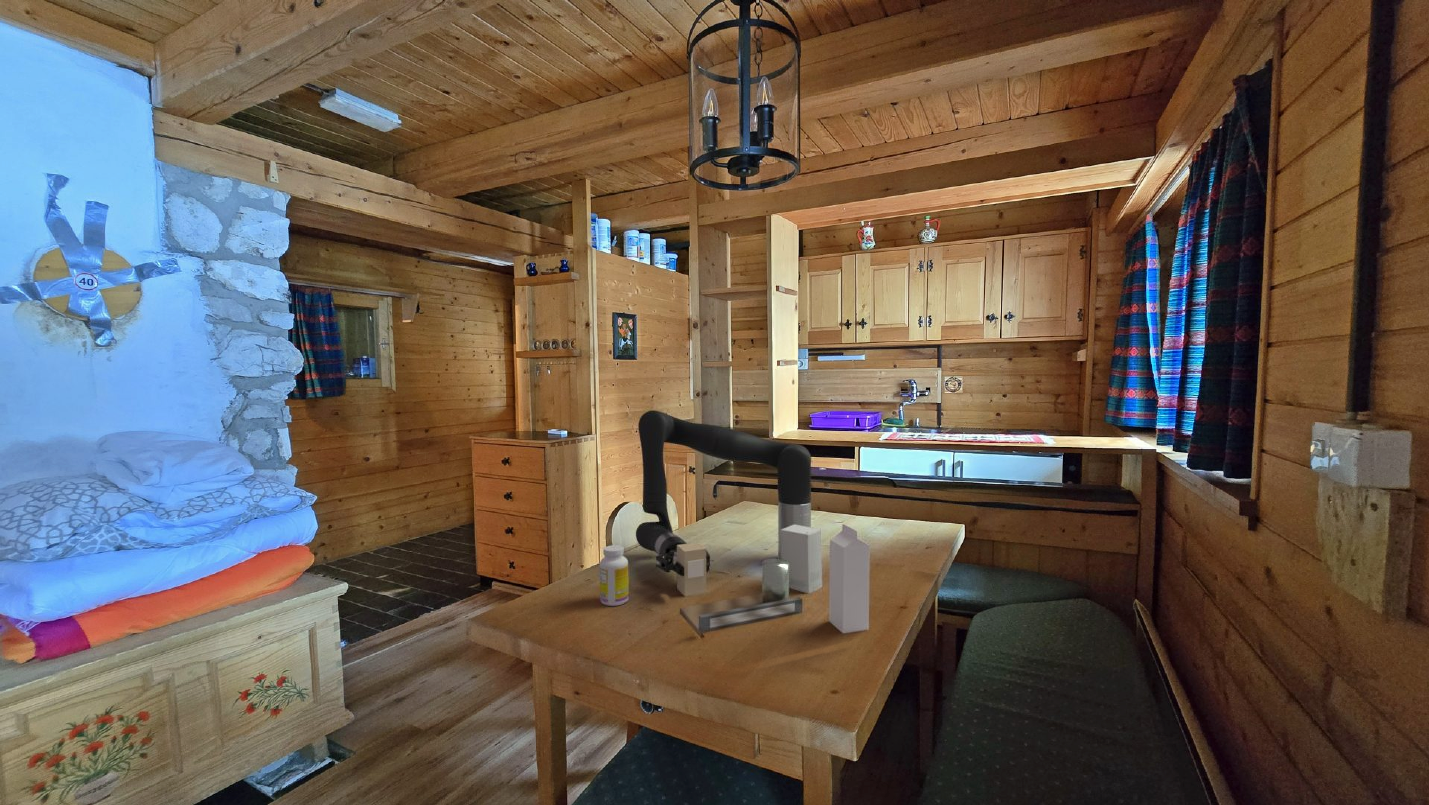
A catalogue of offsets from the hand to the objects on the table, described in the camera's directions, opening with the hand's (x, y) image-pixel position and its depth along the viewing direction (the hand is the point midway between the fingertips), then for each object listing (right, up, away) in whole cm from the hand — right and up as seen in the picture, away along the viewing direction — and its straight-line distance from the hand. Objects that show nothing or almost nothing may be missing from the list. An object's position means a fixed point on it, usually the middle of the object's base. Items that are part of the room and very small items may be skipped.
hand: (695, 570), depth 136 cm
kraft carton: (-1, -7, +3) cm, 7 cm away
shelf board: (+10, -7, -9) cm, 15 cm away
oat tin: (+18, -6, -7) cm, 21 cm away
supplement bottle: (-19, -7, -1) cm, 20 cm away
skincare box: (+26, -7, +5) cm, 27 cm away
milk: (+33, -8, -17) cm, 38 cm away
